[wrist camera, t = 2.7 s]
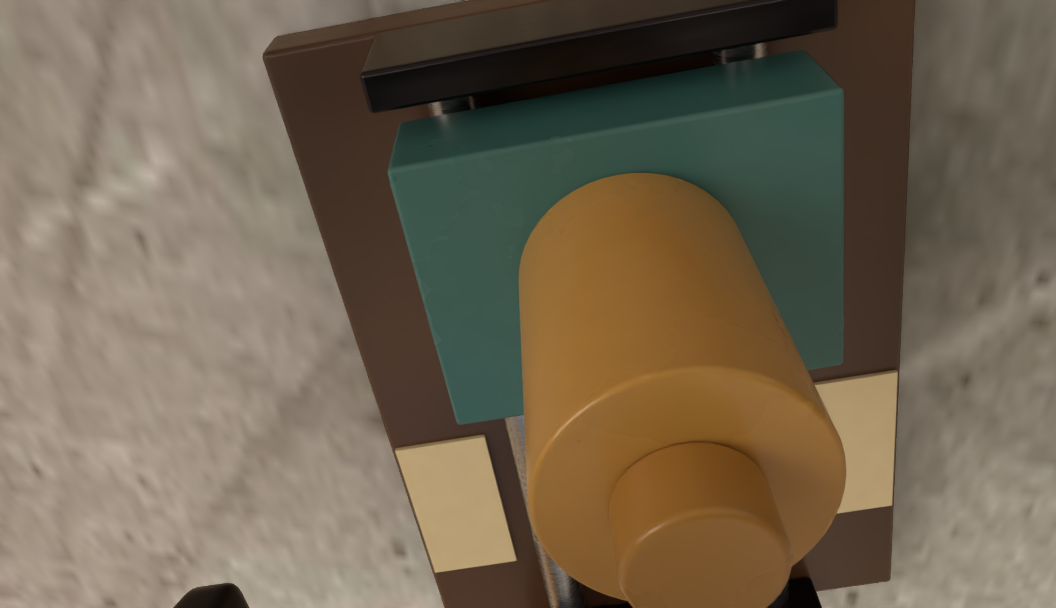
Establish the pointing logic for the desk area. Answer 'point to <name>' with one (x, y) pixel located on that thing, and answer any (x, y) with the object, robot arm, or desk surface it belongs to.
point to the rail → (558, 67)
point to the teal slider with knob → (647, 315)
